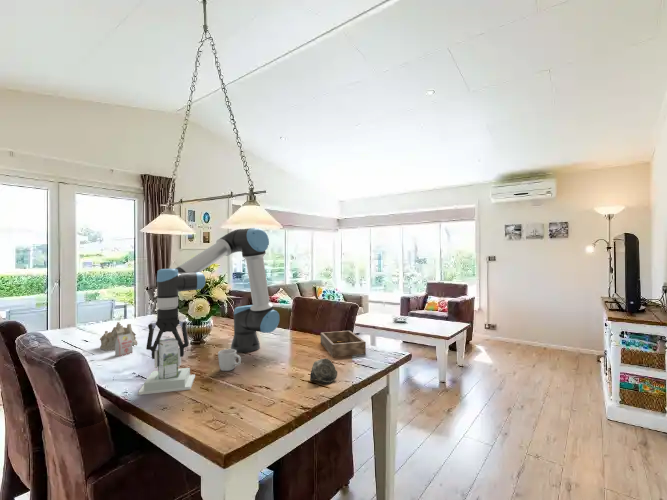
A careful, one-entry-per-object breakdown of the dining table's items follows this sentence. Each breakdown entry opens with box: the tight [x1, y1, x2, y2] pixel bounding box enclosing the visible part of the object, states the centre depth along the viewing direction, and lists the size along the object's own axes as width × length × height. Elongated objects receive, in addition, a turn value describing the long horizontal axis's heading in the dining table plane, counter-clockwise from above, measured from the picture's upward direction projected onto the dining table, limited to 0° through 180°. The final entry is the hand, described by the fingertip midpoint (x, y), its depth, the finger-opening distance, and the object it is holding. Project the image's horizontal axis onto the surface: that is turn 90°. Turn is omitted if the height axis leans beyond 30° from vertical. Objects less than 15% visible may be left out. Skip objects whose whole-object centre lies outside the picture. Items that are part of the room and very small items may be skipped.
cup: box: [217, 348, 242, 372], centre depth 155 cm, size 11×8×8 cm
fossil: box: [309, 358, 338, 385], centre depth 141 cm, size 11×9×10 cm
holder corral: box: [320, 330, 367, 358], centre depth 187 cm, size 17×26×6 cm, turn 15°
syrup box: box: [157, 337, 179, 379], centre depth 137 cm, size 6×6×14 cm
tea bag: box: [114, 334, 134, 357], centre depth 181 cm, size 4×7×10 cm, turn 152°
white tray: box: [137, 367, 196, 396], centre depth 137 cm, size 18×14×4 cm
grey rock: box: [99, 321, 138, 351], centre depth 196 cm, size 16×16×15 cm
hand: (168, 365), depth 137 cm, fingers closed on syrup box, 8 cm apart
